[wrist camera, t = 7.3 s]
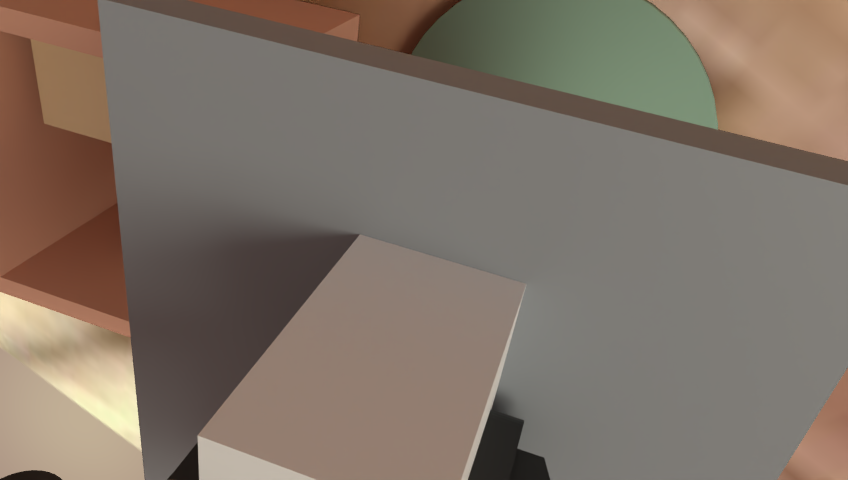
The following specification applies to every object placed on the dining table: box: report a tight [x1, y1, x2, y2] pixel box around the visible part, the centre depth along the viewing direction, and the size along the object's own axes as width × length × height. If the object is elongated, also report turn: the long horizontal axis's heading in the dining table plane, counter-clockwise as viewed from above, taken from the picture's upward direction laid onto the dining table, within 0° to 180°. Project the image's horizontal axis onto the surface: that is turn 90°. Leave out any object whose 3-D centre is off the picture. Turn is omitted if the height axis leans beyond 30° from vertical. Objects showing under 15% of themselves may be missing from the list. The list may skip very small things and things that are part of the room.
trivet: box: [411, 0, 718, 130], centre depth 26 cm, size 12×12×1 cm
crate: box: [0, 0, 360, 337], centre depth 28 cm, size 12×13×8 cm
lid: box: [97, 0, 848, 480], centre depth 12 cm, size 13×13×7 cm
